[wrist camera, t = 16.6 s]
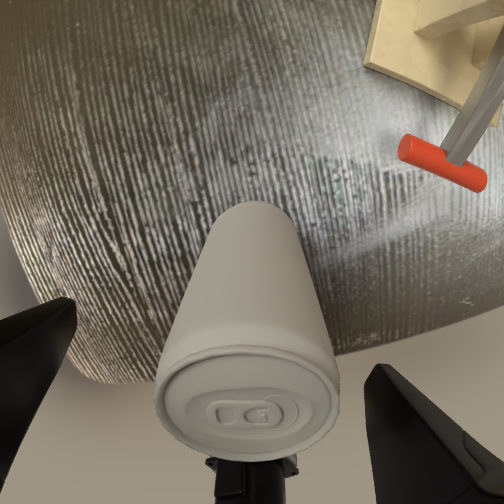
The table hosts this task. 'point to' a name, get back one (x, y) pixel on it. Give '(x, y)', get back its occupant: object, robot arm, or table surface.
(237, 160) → the table surface
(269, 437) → the beverage can
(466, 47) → the bracket
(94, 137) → the table surface
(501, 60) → the lever
